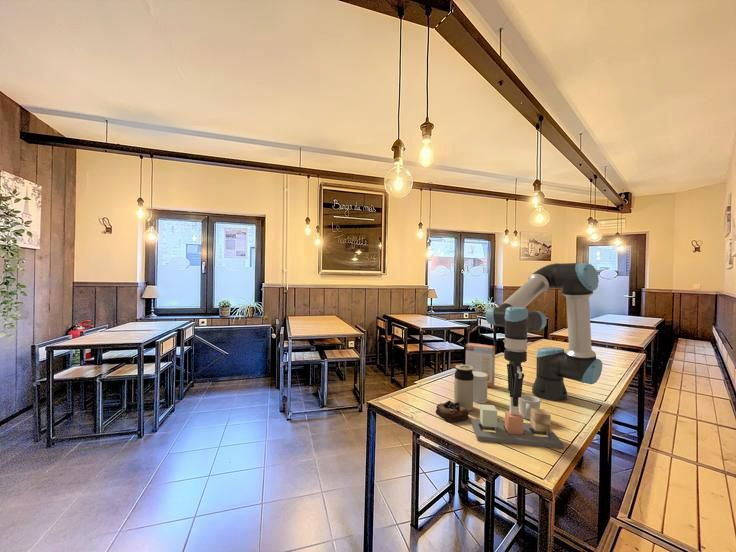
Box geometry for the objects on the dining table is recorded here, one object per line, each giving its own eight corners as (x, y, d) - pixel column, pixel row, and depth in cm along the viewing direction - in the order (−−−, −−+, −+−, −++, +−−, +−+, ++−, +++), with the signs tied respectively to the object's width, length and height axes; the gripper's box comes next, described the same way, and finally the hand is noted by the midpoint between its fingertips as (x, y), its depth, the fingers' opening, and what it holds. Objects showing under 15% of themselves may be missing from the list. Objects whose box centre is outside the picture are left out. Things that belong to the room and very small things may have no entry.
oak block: (544, 425, 119) (545, 409, 119) (550, 432, 114) (550, 415, 114) (530, 424, 120) (530, 408, 120) (535, 430, 115) (535, 413, 115)
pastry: (449, 425, 126) (449, 410, 126) (432, 412, 137) (432, 398, 137) (472, 420, 130) (472, 406, 130) (453, 408, 141) (453, 395, 141)
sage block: (493, 421, 122) (494, 405, 122) (496, 427, 117) (497, 410, 117) (479, 420, 123) (480, 404, 123) (482, 426, 118) (482, 409, 118)
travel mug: (476, 407, 142) (476, 366, 142) (467, 413, 136) (468, 370, 136) (459, 402, 147) (460, 363, 147) (450, 407, 141) (451, 366, 141)
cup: (538, 426, 125) (539, 406, 125) (516, 421, 129) (516, 401, 129) (540, 416, 134) (541, 397, 134) (519, 411, 139) (520, 393, 139)
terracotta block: (518, 428, 121) (519, 412, 121) (523, 434, 116) (523, 418, 116) (504, 426, 121) (505, 411, 121) (508, 433, 117) (508, 416, 116)
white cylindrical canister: (488, 403, 147) (488, 377, 146) (469, 402, 148) (470, 376, 148) (485, 397, 154) (486, 372, 154) (467, 395, 156) (468, 370, 156)
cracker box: (494, 385, 172) (495, 345, 172) (491, 388, 167) (492, 347, 167) (468, 379, 180) (469, 342, 180) (464, 382, 175) (465, 343, 175)
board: (547, 428, 123) (547, 424, 123) (563, 448, 110) (563, 443, 110) (470, 422, 128) (471, 418, 128) (477, 440, 114) (477, 436, 114)
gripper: (500, 345, 125) (498, 405, 126) (509, 353, 112) (508, 420, 113) (520, 346, 124) (519, 407, 124) (532, 354, 111) (531, 422, 112)
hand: (514, 413), depth 119 cm, fingers closed
